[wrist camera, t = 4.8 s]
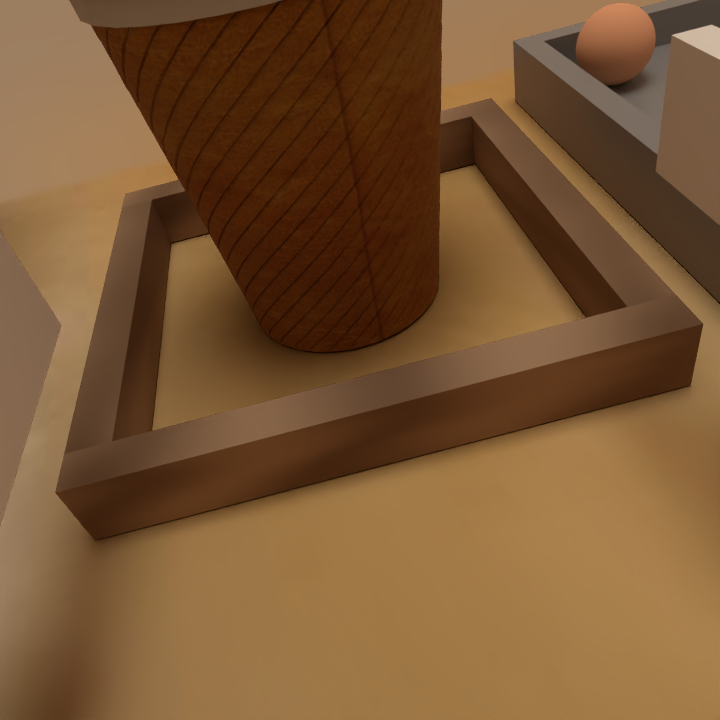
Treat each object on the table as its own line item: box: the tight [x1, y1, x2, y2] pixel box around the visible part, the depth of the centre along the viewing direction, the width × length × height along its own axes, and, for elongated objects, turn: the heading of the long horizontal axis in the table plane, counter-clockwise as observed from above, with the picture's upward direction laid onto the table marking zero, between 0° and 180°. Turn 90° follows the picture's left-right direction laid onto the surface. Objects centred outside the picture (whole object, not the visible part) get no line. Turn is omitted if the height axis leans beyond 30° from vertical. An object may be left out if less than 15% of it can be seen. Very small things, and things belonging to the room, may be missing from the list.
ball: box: [576, 3, 656, 86], centre depth 26 cm, size 3×3×3 cm
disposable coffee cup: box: [69, 0, 442, 352], centre depth 18 cm, size 10×10×12 cm
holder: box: [55, 98, 703, 540], centre depth 21 cm, size 15×15×2 cm
